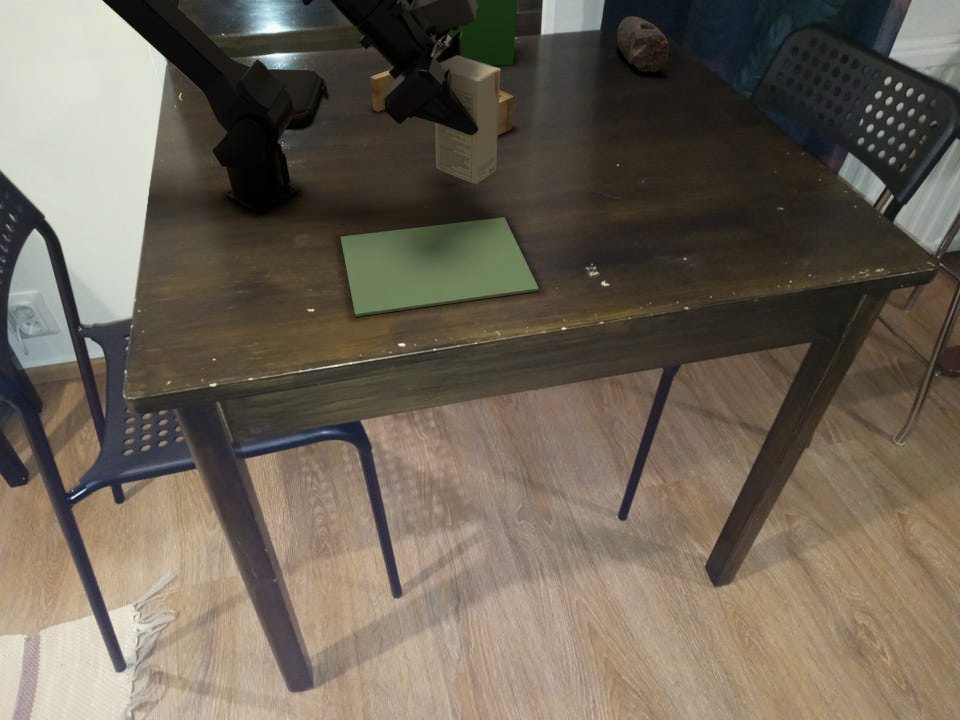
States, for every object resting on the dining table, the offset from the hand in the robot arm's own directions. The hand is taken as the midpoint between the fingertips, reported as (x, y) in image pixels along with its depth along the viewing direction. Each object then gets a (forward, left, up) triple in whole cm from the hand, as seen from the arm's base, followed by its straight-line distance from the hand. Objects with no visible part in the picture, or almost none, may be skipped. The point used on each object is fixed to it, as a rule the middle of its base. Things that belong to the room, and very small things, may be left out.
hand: (478, 118), depth 78 cm
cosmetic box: (-1, +1, -7) cm, 7 cm away
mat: (-11, -3, -12) cm, 17 cm away
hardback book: (+36, +31, -12) cm, 49 cm away
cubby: (+16, +19, -12) cm, 27 cm away
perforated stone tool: (+55, +7, -12) cm, 56 cm away
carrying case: (+5, +39, -12) cm, 41 cm away
